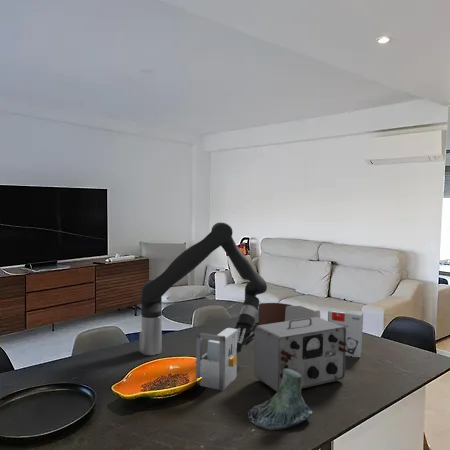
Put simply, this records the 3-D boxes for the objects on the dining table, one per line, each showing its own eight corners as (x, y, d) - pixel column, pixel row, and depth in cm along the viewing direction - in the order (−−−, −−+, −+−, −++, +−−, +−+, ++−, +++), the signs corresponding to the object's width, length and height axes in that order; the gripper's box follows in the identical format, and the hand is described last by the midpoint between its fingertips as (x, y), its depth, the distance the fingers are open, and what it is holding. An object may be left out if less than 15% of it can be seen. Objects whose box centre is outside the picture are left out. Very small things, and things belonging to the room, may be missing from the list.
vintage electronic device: (280, 400, 152) (282, 331, 151) (254, 381, 168) (255, 318, 167) (348, 383, 167) (350, 320, 165) (317, 367, 183) (319, 309, 181)
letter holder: (293, 329, 238) (294, 304, 237) (258, 327, 241) (258, 302, 240) (294, 324, 247) (294, 300, 247) (260, 322, 251) (260, 298, 250)
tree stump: (246, 403, 150) (259, 354, 150) (302, 419, 149) (315, 370, 149) (246, 428, 132) (261, 372, 132) (309, 446, 131) (325, 390, 131)
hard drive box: (326, 353, 200) (327, 311, 199) (328, 348, 207) (329, 307, 206) (360, 358, 194) (362, 314, 193) (362, 352, 201) (363, 310, 200)
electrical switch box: (321, 346, 216) (324, 306, 218) (311, 350, 204) (314, 307, 205) (294, 340, 224) (297, 302, 226) (282, 344, 212) (286, 303, 213)
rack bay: (196, 384, 164) (196, 333, 163) (211, 372, 176) (212, 324, 175) (224, 391, 159) (225, 338, 158) (238, 377, 171) (239, 328, 170)
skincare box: (218, 383, 165) (218, 343, 164) (205, 381, 167) (205, 341, 166) (237, 364, 185) (238, 328, 184) (225, 362, 187) (226, 326, 186)
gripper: (231, 311, 195) (220, 346, 185) (259, 314, 190) (248, 350, 180) (235, 319, 201) (225, 354, 190) (262, 323, 195) (253, 358, 185)
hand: (236, 352), depth 185 cm, fingers closed
